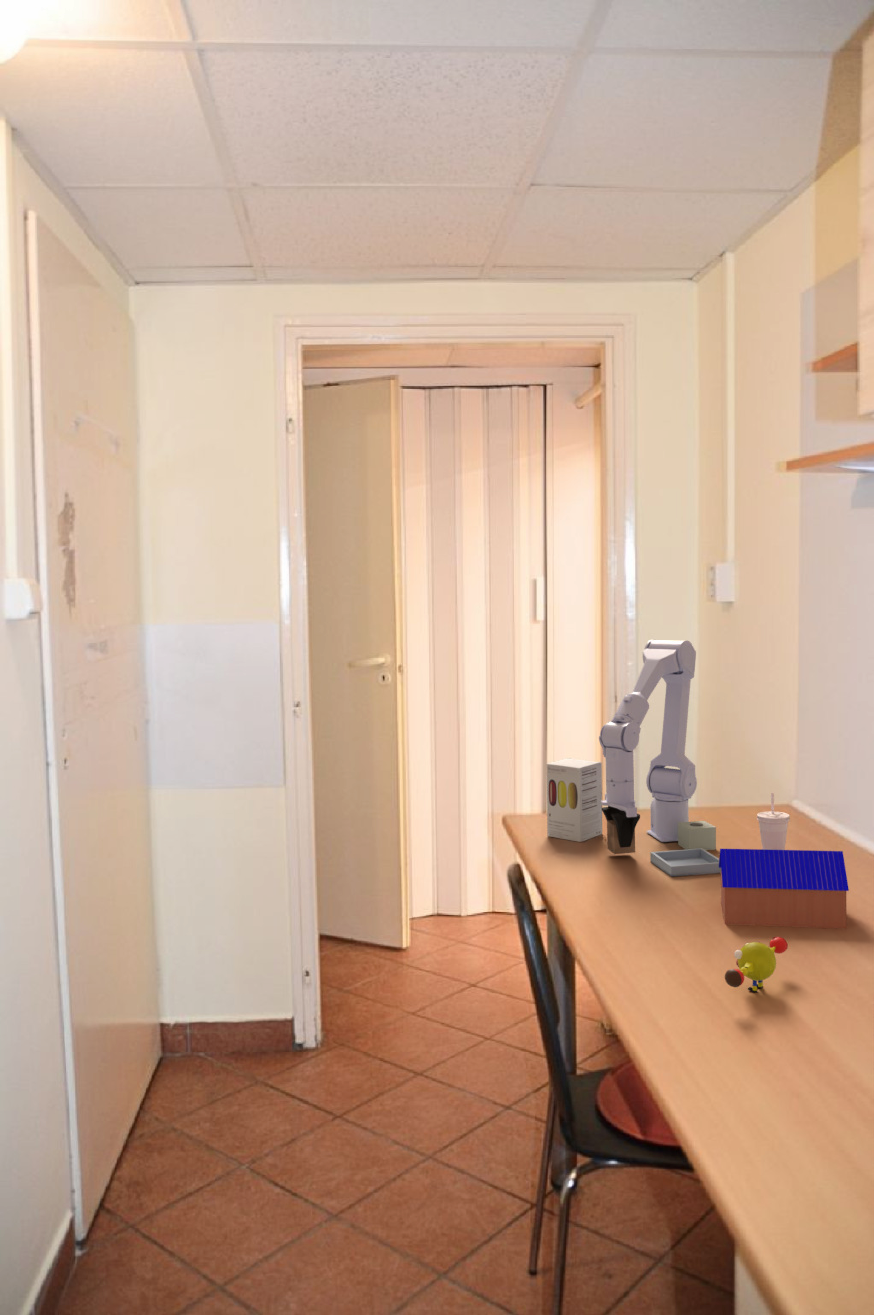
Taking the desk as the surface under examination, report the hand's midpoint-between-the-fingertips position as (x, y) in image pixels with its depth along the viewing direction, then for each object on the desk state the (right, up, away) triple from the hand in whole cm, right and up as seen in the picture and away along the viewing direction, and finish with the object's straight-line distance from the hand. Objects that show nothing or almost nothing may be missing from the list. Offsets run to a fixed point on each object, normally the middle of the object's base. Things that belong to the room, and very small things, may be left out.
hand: (621, 843), depth 222 cm
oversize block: (+17, -2, +6) cm, 18 cm away
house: (+21, -6, -40) cm, 45 cm away
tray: (+12, -3, -9) cm, 15 cm away
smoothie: (+30, -3, -7) cm, 31 cm away
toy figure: (+7, -8, -71) cm, 72 cm away
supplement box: (-7, -2, +19) cm, 21 cm away
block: (0, -1, 0) cm, 1 cm away
